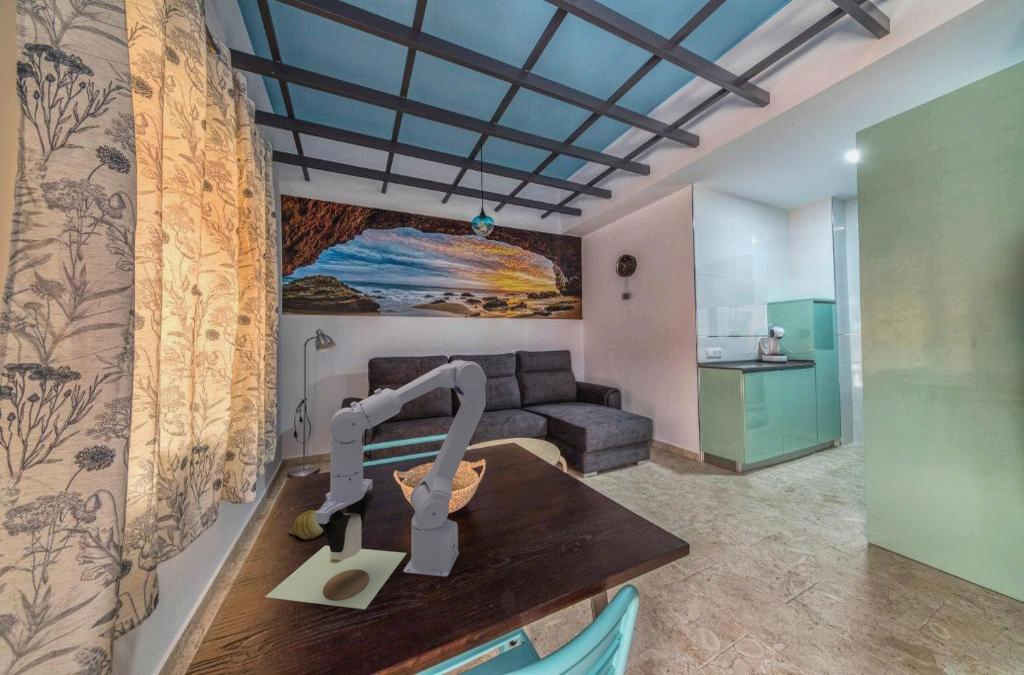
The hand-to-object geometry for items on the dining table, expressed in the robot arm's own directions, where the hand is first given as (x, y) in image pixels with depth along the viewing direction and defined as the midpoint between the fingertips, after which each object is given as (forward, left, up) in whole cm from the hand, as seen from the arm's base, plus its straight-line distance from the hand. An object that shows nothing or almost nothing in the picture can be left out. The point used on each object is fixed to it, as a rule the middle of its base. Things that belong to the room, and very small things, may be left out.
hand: (346, 541), depth 65 cm
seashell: (+21, -15, -9) cm, 27 cm away
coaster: (0, 0, -8) cm, 8 cm away
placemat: (+3, -3, -9) cm, 10 cm away
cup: (0, 0, -2) cm, 2 cm away
